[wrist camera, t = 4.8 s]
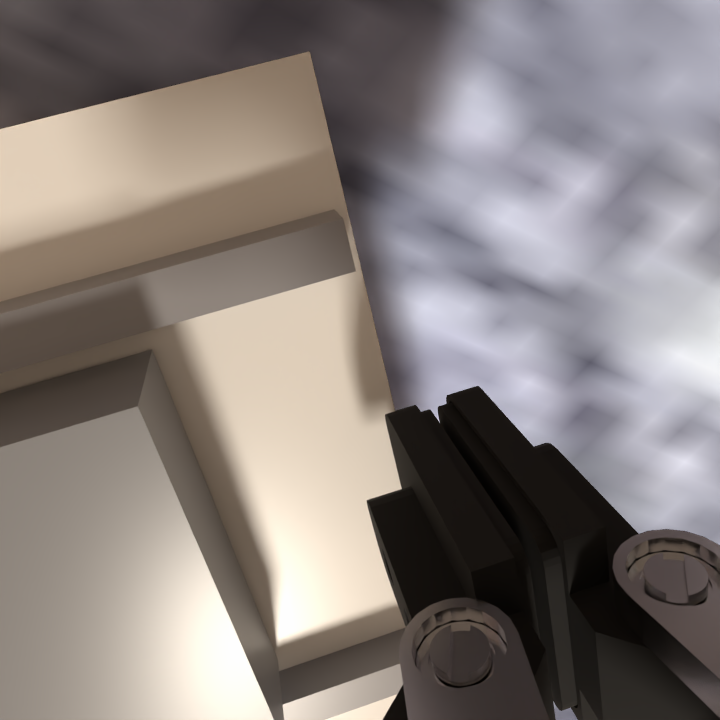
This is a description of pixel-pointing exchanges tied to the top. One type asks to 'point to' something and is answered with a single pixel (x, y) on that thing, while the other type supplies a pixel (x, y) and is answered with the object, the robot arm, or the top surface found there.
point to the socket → (226, 338)
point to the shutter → (119, 562)
